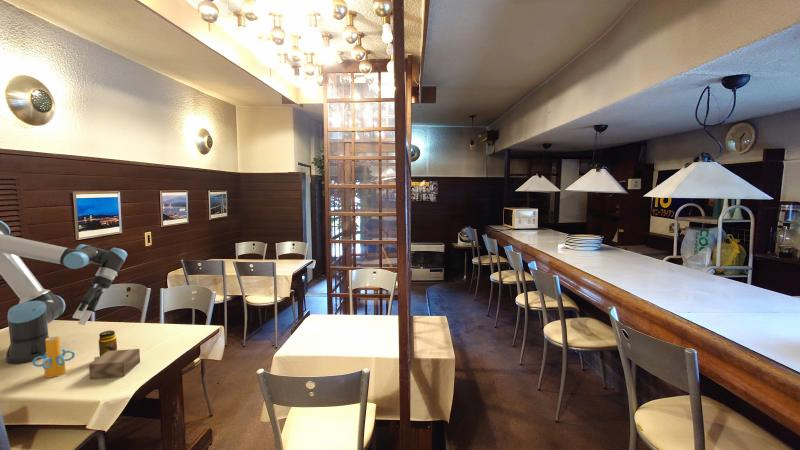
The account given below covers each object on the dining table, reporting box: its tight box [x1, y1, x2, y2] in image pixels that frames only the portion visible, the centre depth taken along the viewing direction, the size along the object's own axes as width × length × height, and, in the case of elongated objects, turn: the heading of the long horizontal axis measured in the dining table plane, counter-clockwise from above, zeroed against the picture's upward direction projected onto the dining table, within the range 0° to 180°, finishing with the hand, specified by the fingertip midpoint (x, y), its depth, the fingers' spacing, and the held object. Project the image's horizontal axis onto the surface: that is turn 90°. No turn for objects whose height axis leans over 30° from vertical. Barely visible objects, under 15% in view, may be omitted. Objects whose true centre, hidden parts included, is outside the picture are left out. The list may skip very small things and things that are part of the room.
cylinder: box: [31, 335, 76, 378], centre depth 141 cm, size 12×10×15 cm
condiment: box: [93, 329, 118, 361], centre depth 154 cm, size 7×8×12 cm
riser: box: [88, 348, 141, 380], centre depth 145 cm, size 12×12×6 cm
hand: (78, 321), depth 160 cm, fingers open, 13 cm apart
